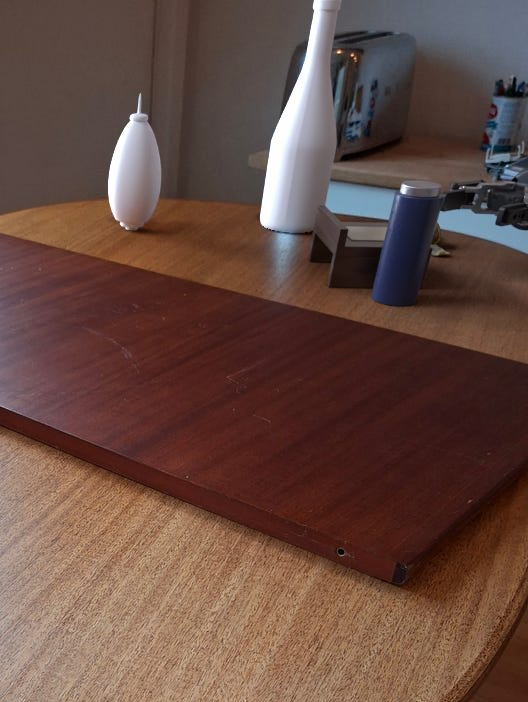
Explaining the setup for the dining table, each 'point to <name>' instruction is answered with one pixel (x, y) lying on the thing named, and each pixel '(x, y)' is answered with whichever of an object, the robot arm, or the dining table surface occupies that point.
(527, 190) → the robot arm
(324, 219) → the shoe shelf
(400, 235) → the navy blue cylinder
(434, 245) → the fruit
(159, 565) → the dining table surface
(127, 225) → the air blower bulb
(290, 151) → the wine bottle
